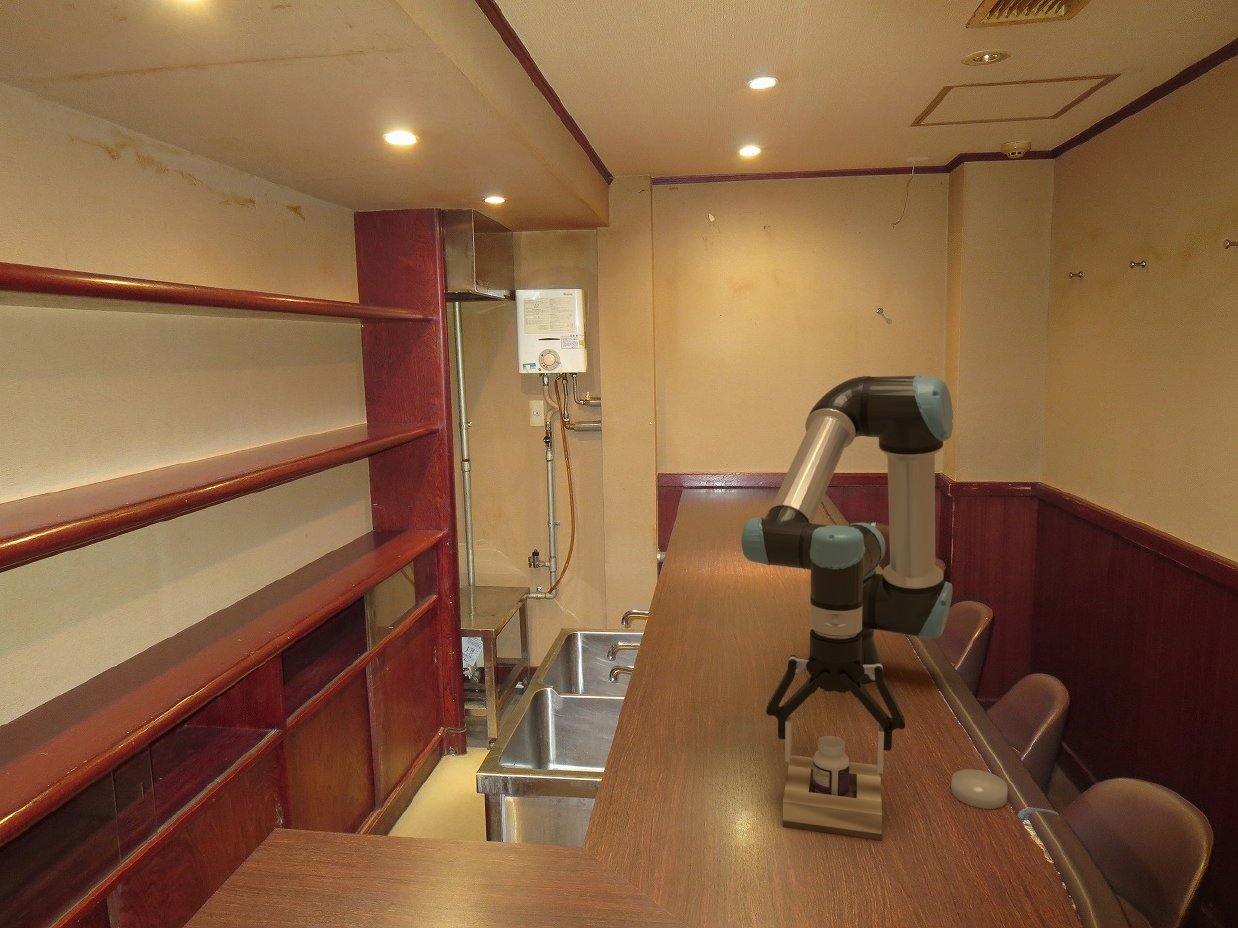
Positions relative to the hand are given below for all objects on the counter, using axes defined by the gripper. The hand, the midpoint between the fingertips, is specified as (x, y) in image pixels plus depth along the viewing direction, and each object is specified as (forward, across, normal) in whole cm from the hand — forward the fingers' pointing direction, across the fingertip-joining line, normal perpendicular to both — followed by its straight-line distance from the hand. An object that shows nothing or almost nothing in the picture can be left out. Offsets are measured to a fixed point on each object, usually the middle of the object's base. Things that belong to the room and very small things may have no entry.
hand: (833, 763), depth 125 cm
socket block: (+7, 0, 0) cm, 7 cm away
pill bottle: (+6, 0, 0) cm, 6 cm away
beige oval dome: (+7, +22, +9) cm, 25 cm away
